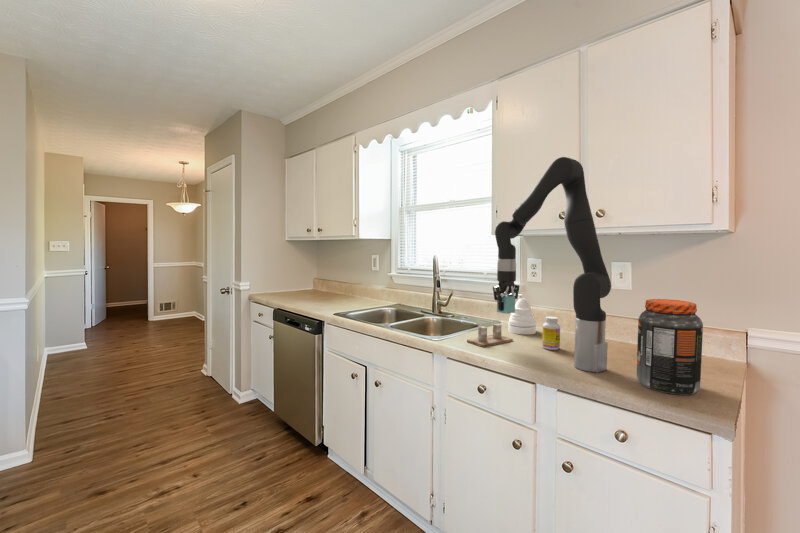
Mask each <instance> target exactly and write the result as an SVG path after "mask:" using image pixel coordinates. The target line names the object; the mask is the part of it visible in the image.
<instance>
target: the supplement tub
mask: <svg viewBox="0 0 800 533" xmlns="http://www.w3.org/2000/svg"><path fill="white" fill-rule="evenodd" d="M644 308H645V310H643V311H642V312H641V313H640V315H639V317H638V319H637V320H638V323H637V347H636V348H637V352H636V379H637V381H638V382H639V383H640V384H641V385H643V386H644V387H646V388H648V389H651V390H653V391H658V392H660V393H664V394H665V393H666V394H673V395H679V396H680V395H681V396H683V395H684V396H686V395H687V396H688V395H693V394H696V393H697V392H699V391H700V388H701V376H702V357H703V356H702V355H703V336H704V335H703V334H704V333H703V332H704V323H703V321H702V319H701V317H699V316H698V315H697V314H696V313H697V311H698V310H697V304H696V303H695V302H693V301H692V302H691V301H686V300H679V299H669V298H665V299H664V298H653V299H646V300H645V305H644Z"/></svg>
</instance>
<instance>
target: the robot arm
mask: <svg viewBox="0 0 800 533" xmlns="http://www.w3.org/2000/svg"><path fill="white" fill-rule="evenodd" d="M585 180H586V178H585V172H584V167H583V165H582V163H581V162H579V161H578V160H576V159H573V158H570V157H566V156H561V157H558V158H556V159H555V160H554V161H552V163H551V164H550V165H549V167H548V169H547V170H546V171H545V173H544V174H543V175H542V176H541V178H540V180H539V181H538V182H537V184H536V185H535V187H534V188H533V189H532V190H531V192H530V193H529V194H528V196H526V198H525V199H524V200H522V202H521V203H520V204H519V205H518V206H517V207H516V208H515V209H514V211H512V214H511V216H512V219H511V220H510V221H500V222H498V223H497V225H496V226H495V228H494V234H495V241H496V245H497V248H498V249H497V266H496V267H497V270H496V272H497V274H496V280H497V281H498V283H497V285H496V286H495V285H494V286H492V291H493V292H492V293H493V300H494V301H496V302H497V301H498V309H499V311H504V297H506V296H513V297H515V300H518V299H519V298H518V294H519V291H520V284H519V285H518V284H515V282H516V280H517V260H516V258H517V257H516V255H517V249H516V248H517V247H516V246H515V245H514V244H513V243H512V241H511V240H512V239H515V238H517V237H518V236H519V235H520V234H521V232H522V231H523V230H524V228H525V227H526V225H527V224H528V222H529V221H530V220H531V219H532V218H533V217H535V216H536V215H537V213H538V212H539V211H540V210H541V209H542V206H543V204H544V202H545V200H546V199H547V197H548V196H549V195H550V193H551V192H552V191H553V190H554V189H556V188H557V187H558V186H559V185H562V189H563V192H564V196H565V200H566V205H565V211H564V218H563V220H564V222H563V223H564V227H565V232H566V237H567V239H568V241H569V244H570V245H571V247H572V248H573V250H574V251H575V253H576V254H577V256H578V258H579V260H580V262H581V265H582V269H583V273H581V274H579V275H577V277H575V279H574V283H573V290H572V292H573V295H572V296H573V300H572V302H573V310H574V312H575V331H574V332H575V333H574V361H573V362H574V365H573V366H574V367H575V368H576V369H578V370H582V371H585V372H591V373H597V374H598V373H600V372H603V371H607V369H608V346H609V345H608V342H607V341H606V324H607V322H606V321H607V313H606V311H604V310H603V309H602V307H601V299H604V298H605V297H607V296H608V295H609V293H611V290H612V284H611V279H610V276H609V273H608V270H607V267H606V264H605V262H604V258H603V256H602V252H601V247H600V244H599V240H598V236H597V229H596V226H595V225H596V224H595V220H594V218H593V214H592V209H591V205H590V201H589V198H588V194H587V188H586V181H585ZM497 296H498V298H497ZM501 297H502V299H501Z"/></svg>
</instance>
